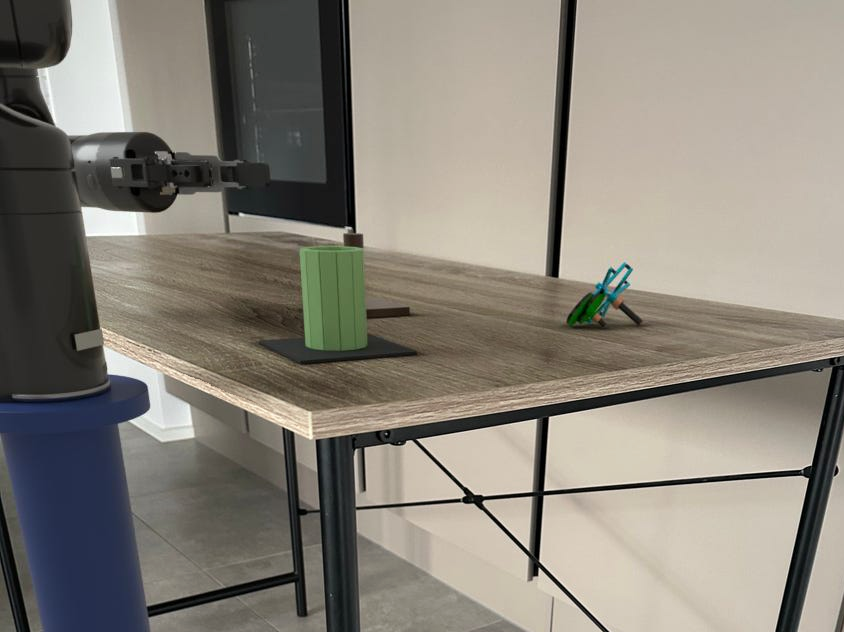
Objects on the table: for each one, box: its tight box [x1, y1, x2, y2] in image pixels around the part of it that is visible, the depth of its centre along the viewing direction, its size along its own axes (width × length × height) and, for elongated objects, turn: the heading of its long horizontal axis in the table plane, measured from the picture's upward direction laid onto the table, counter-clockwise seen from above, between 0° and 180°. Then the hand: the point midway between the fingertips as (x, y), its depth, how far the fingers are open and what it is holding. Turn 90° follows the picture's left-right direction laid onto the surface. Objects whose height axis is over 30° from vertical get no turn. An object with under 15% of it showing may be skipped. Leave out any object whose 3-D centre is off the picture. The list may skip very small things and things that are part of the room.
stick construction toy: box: [565, 261, 643, 328], centre depth 110 cm, size 12×7×8 cm
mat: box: [258, 332, 418, 365], centre depth 94 cm, size 12×12×1 cm
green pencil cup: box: [299, 245, 368, 351], centre depth 92 cm, size 6×6×9 cm
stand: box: [342, 232, 411, 319], centre depth 115 cm, size 10×10×9 cm
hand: (238, 174), depth 92 cm, fingers open, 8 cm apart
